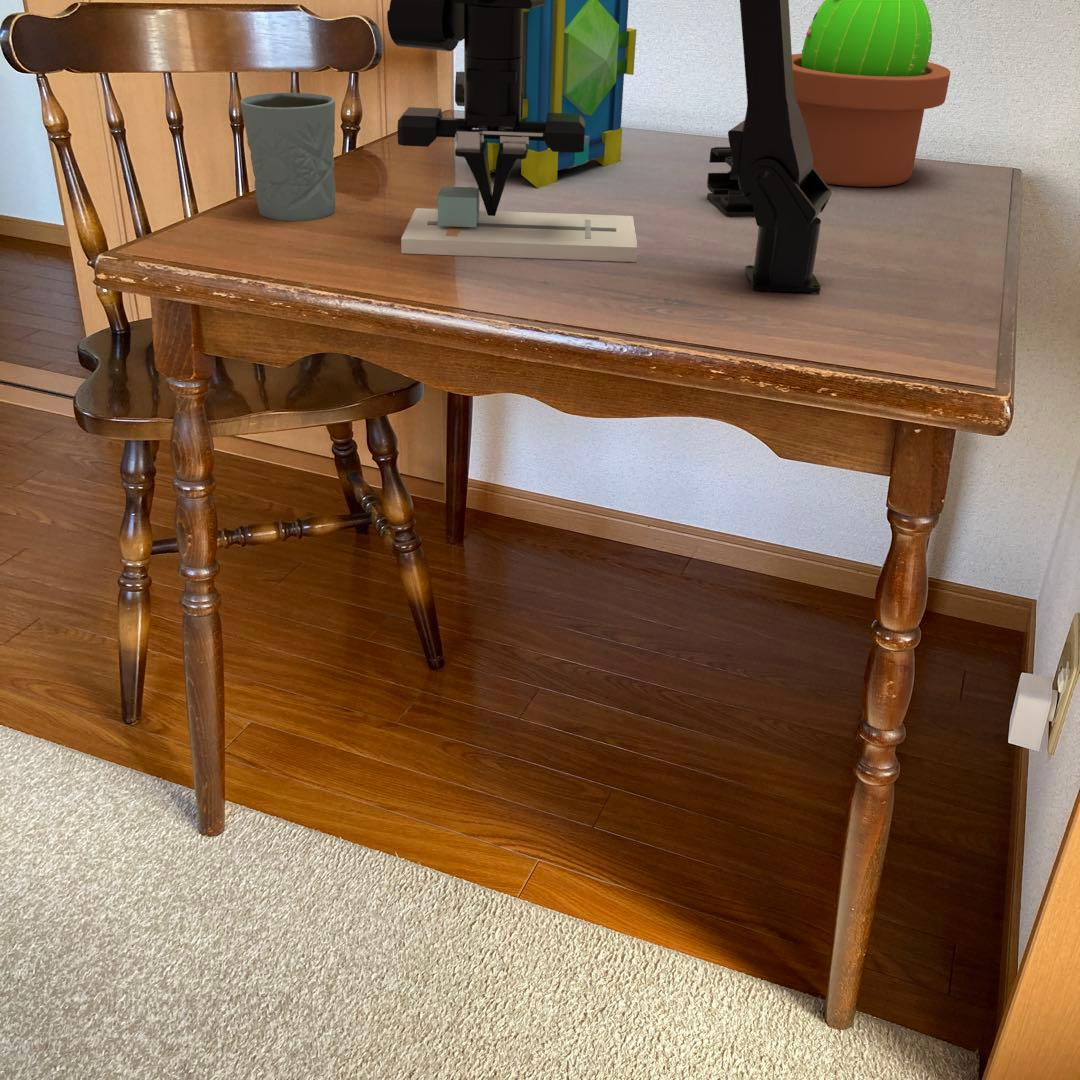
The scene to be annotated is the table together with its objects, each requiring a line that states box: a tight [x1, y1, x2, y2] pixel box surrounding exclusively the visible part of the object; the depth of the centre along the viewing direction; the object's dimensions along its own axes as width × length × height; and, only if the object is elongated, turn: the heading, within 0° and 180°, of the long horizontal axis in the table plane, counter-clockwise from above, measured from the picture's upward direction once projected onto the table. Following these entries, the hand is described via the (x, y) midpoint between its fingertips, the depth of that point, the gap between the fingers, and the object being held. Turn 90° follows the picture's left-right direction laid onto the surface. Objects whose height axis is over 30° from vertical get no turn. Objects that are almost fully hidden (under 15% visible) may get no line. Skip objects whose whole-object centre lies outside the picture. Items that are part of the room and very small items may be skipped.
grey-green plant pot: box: [240, 92, 336, 222], centre depth 125 cm, size 10×10×12 cm
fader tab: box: [436, 185, 481, 227], centre depth 119 cm, size 4×4×3 cm
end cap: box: [706, 146, 755, 218], centre depth 134 cm, size 10×7×7 cm
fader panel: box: [400, 207, 639, 263], centre depth 120 cm, size 12×24×2 cm, turn 88°
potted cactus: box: [792, 0, 951, 188], centre depth 146 cm, size 22×22×25 cm
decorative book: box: [477, 0, 637, 189], centre depth 142 cm, size 14×23×30 cm, turn 146°
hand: (491, 214), depth 119 cm, fingers closed
